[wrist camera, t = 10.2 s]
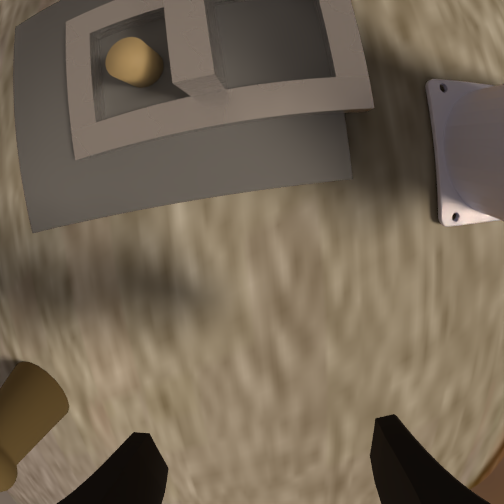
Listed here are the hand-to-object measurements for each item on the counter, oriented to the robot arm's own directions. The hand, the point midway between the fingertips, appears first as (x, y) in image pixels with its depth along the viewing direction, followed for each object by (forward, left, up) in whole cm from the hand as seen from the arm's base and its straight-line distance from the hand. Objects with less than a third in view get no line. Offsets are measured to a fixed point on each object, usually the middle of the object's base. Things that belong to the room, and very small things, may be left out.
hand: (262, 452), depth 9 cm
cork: (+20, +6, -10) cm, 23 cm away
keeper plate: (+4, -14, -9) cm, 17 cm away
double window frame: (+1, -14, -8) cm, 17 cm away
